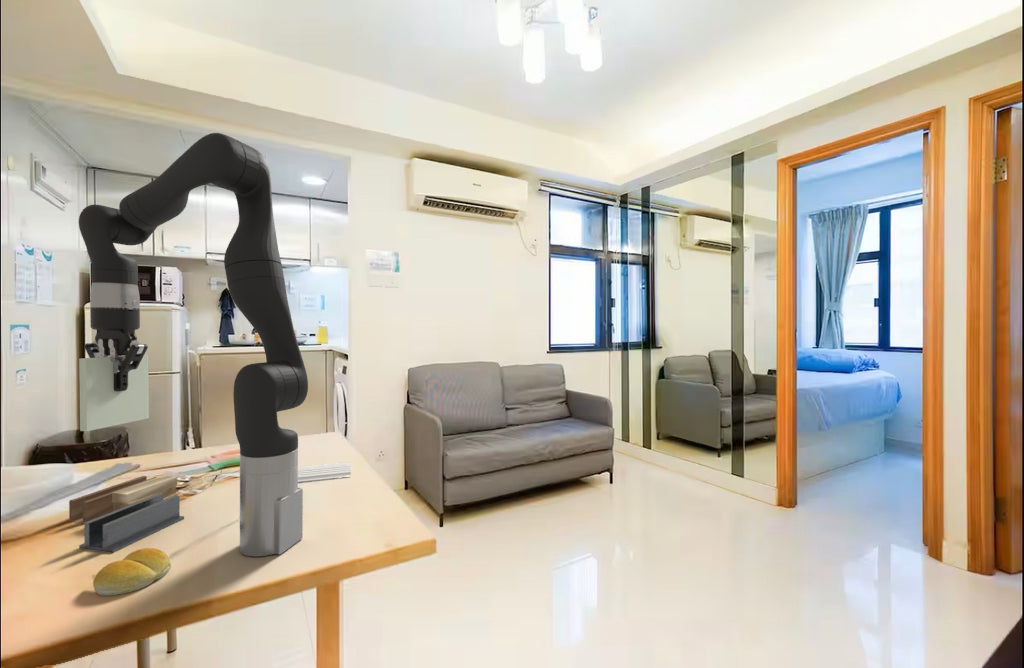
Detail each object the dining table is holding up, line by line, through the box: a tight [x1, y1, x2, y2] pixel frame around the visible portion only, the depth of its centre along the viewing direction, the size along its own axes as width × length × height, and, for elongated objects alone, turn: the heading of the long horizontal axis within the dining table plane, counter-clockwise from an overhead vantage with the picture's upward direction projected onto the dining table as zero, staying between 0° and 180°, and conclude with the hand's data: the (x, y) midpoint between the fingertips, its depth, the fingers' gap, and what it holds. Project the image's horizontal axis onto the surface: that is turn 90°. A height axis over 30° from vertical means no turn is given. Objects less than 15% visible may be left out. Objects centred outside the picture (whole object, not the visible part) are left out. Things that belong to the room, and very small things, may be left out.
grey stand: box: [78, 494, 185, 554], centre depth 80 cm, size 7×13×6 cm, turn 170°
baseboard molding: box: [210, 461, 352, 486], centre depth 113 cm, size 31×3×12 cm
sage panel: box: [78, 354, 150, 432], centre depth 90 cm, size 2×12×14 cm, turn 170°
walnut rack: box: [68, 475, 187, 524], centre depth 90 cm, size 12×14×6 cm
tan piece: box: [112, 474, 178, 511], centre depth 89 cm, size 4×10×5 cm, turn 170°
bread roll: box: [92, 547, 172, 597], centre depth 68 cm, size 8×9×4 cm
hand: (116, 390), depth 90 cm, fingers closed on sage panel, 1 cm apart
